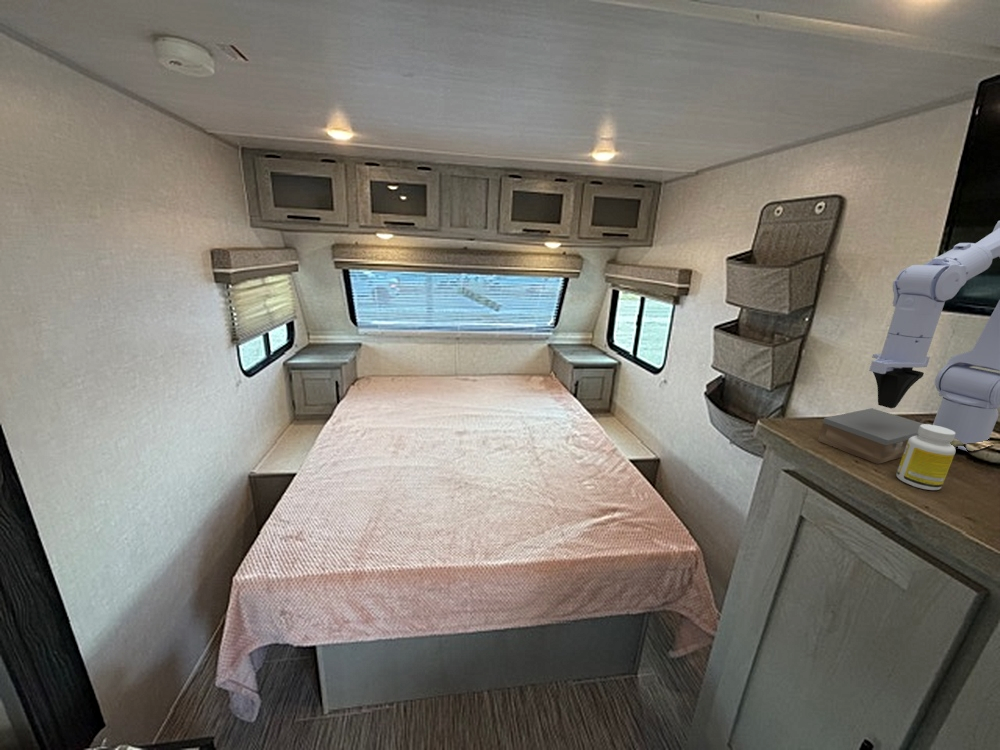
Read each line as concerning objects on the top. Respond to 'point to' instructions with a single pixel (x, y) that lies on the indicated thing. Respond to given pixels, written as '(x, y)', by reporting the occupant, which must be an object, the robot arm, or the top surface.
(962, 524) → the top surface
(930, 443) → the supplement bottle
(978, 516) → the top surface
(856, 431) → the lid
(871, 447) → the box
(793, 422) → the top surface
